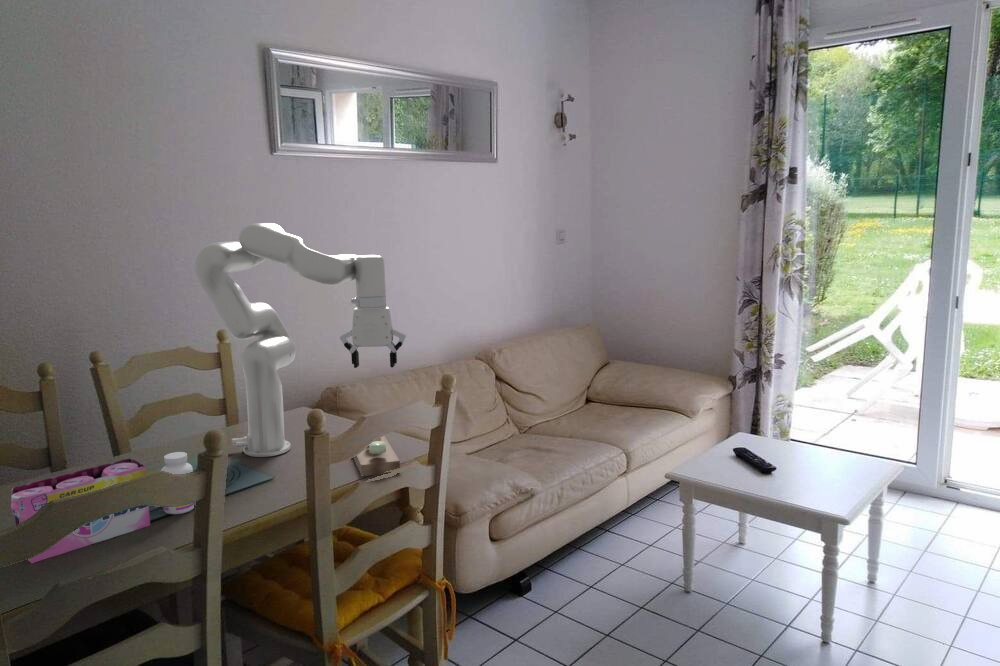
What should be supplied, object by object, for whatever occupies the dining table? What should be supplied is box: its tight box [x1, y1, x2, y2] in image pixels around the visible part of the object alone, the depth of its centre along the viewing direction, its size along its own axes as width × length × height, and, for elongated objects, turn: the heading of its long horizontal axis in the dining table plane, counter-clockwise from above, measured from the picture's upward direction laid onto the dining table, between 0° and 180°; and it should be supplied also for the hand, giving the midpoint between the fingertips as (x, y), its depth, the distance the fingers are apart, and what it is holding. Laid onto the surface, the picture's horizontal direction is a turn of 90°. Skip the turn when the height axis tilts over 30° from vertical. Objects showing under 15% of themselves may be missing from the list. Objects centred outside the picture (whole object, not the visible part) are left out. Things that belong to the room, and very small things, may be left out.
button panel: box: [353, 435, 401, 477], centre depth 191 cm, size 10×22×3 cm, turn 20°
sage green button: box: [369, 441, 386, 454], centre depth 184 cm, size 4×4×2 cm
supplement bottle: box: [160, 451, 195, 515], centre depth 158 cm, size 7×7×13 cm
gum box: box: [10, 457, 151, 564], centre depth 143 cm, size 24×8×14 cm, turn 140°
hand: (374, 366), depth 186 cm, fingers open, 9 cm apart
